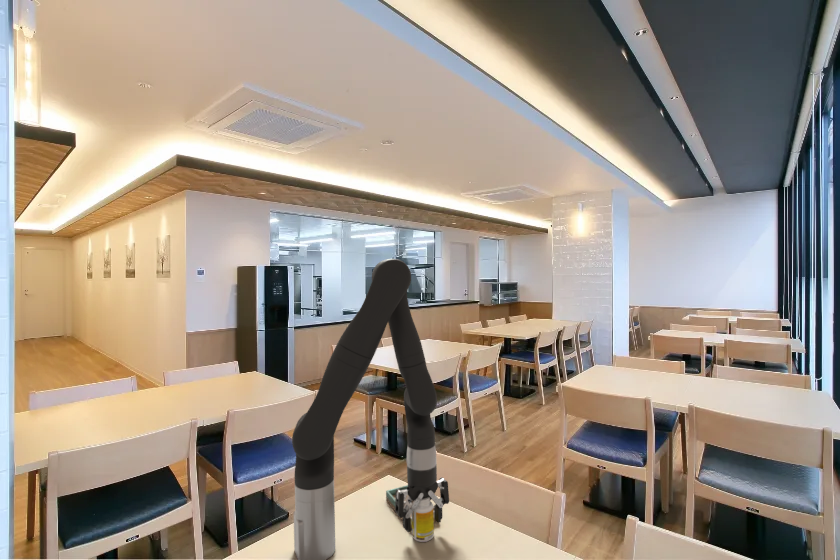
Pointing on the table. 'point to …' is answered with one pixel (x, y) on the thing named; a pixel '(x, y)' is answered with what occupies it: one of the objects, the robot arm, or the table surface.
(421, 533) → the supplement bottle
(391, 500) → the divided sorting tray
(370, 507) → the table surface
